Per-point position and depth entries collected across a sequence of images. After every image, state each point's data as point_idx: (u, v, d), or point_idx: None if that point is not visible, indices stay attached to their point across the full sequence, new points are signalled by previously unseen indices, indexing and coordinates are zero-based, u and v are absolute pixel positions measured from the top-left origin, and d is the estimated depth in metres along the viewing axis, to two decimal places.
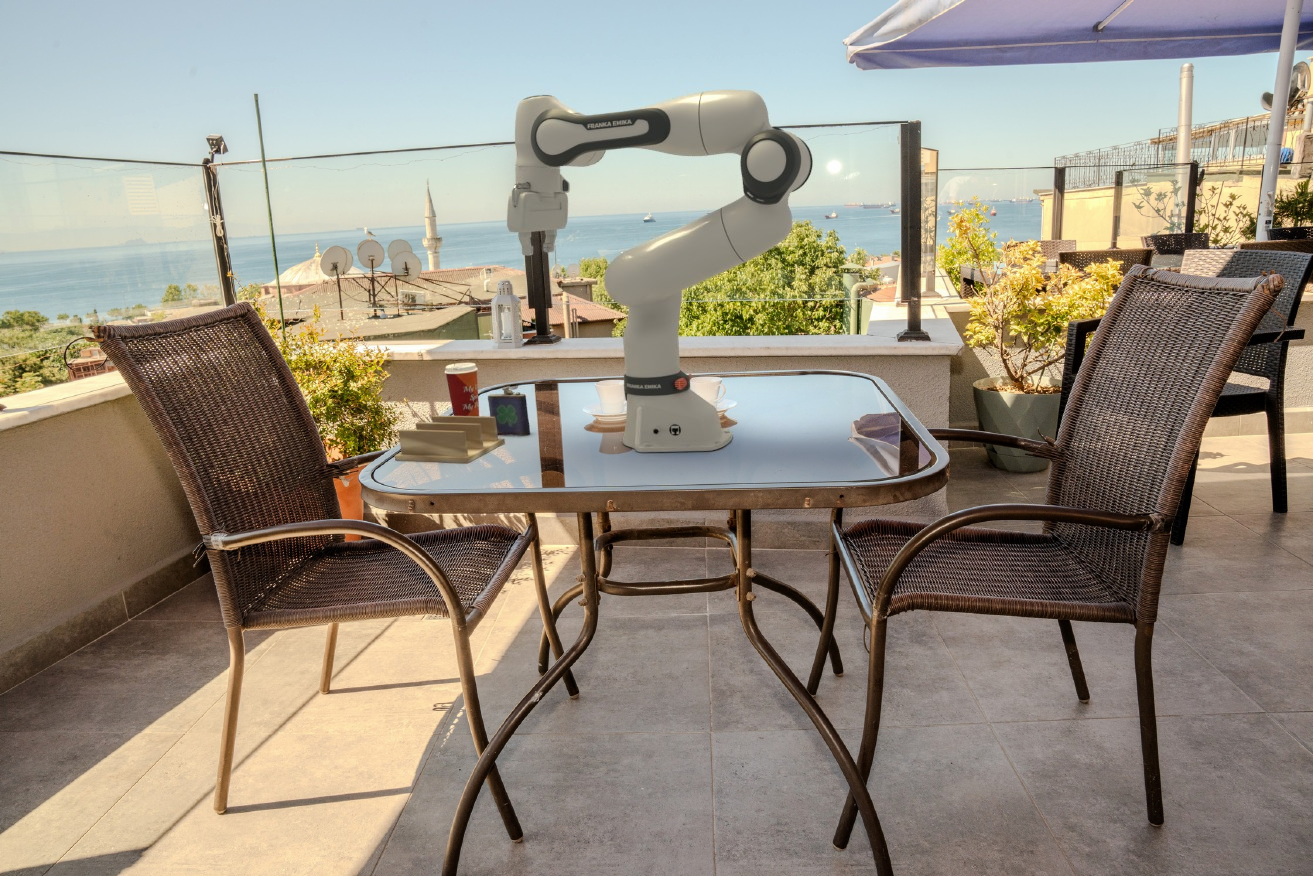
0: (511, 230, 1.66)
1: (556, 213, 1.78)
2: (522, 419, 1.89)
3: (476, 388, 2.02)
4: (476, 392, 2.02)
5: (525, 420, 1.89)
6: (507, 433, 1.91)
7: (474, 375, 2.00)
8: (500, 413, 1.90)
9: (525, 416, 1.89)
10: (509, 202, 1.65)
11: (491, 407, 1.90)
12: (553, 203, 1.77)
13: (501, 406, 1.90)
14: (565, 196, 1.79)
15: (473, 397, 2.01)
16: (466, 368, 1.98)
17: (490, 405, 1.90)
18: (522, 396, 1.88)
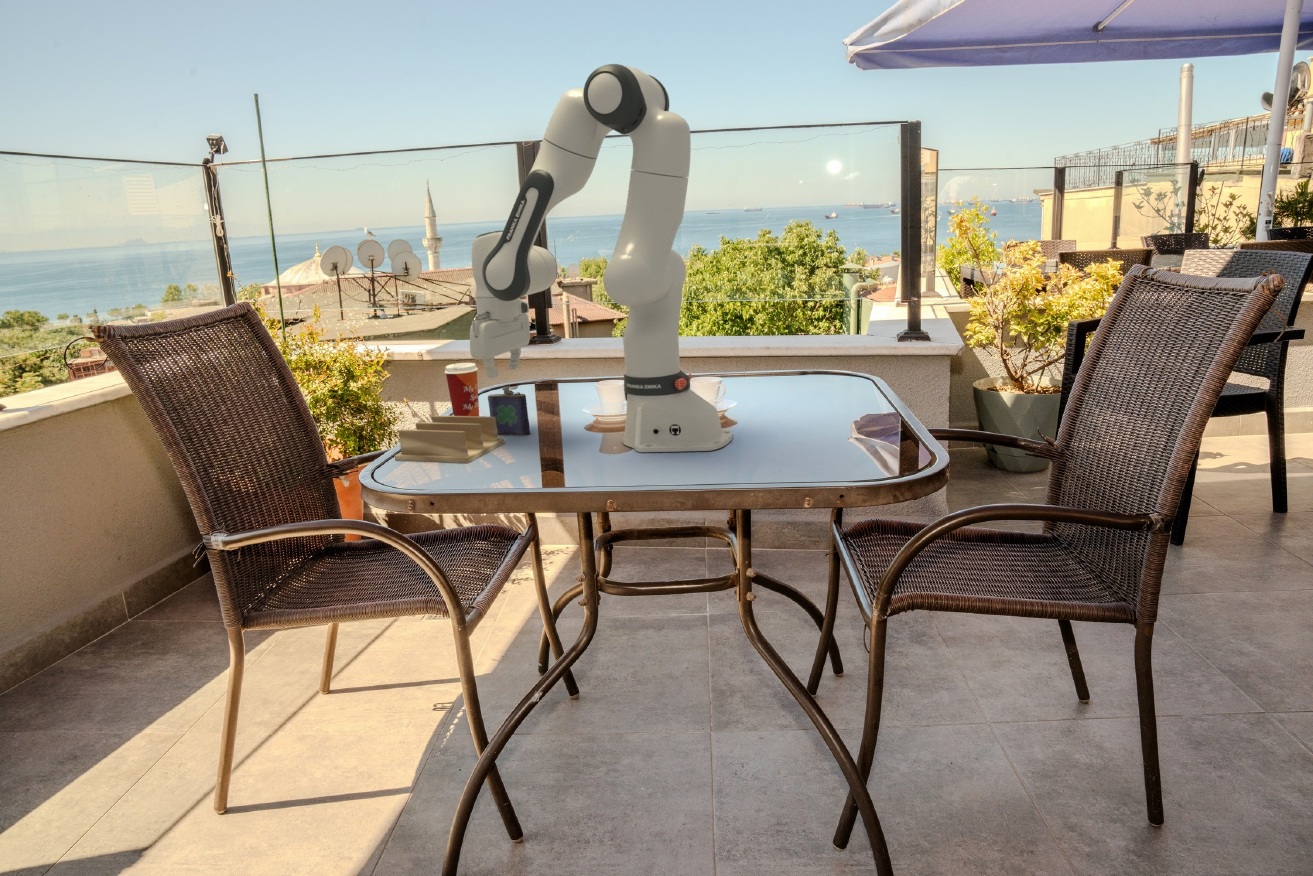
0: (475, 358, 1.79)
1: (518, 333, 1.90)
2: (522, 419, 1.89)
3: (476, 388, 2.02)
4: (476, 392, 2.02)
5: (525, 420, 1.89)
6: (507, 433, 1.91)
7: (474, 375, 2.00)
8: (500, 413, 1.90)
9: (525, 416, 1.89)
10: (471, 333, 1.78)
11: (491, 407, 1.90)
12: (514, 324, 1.89)
13: (501, 406, 1.90)
14: (525, 316, 1.91)
15: (473, 397, 2.01)
16: (466, 368, 1.98)
17: (490, 405, 1.90)
18: (522, 396, 1.88)
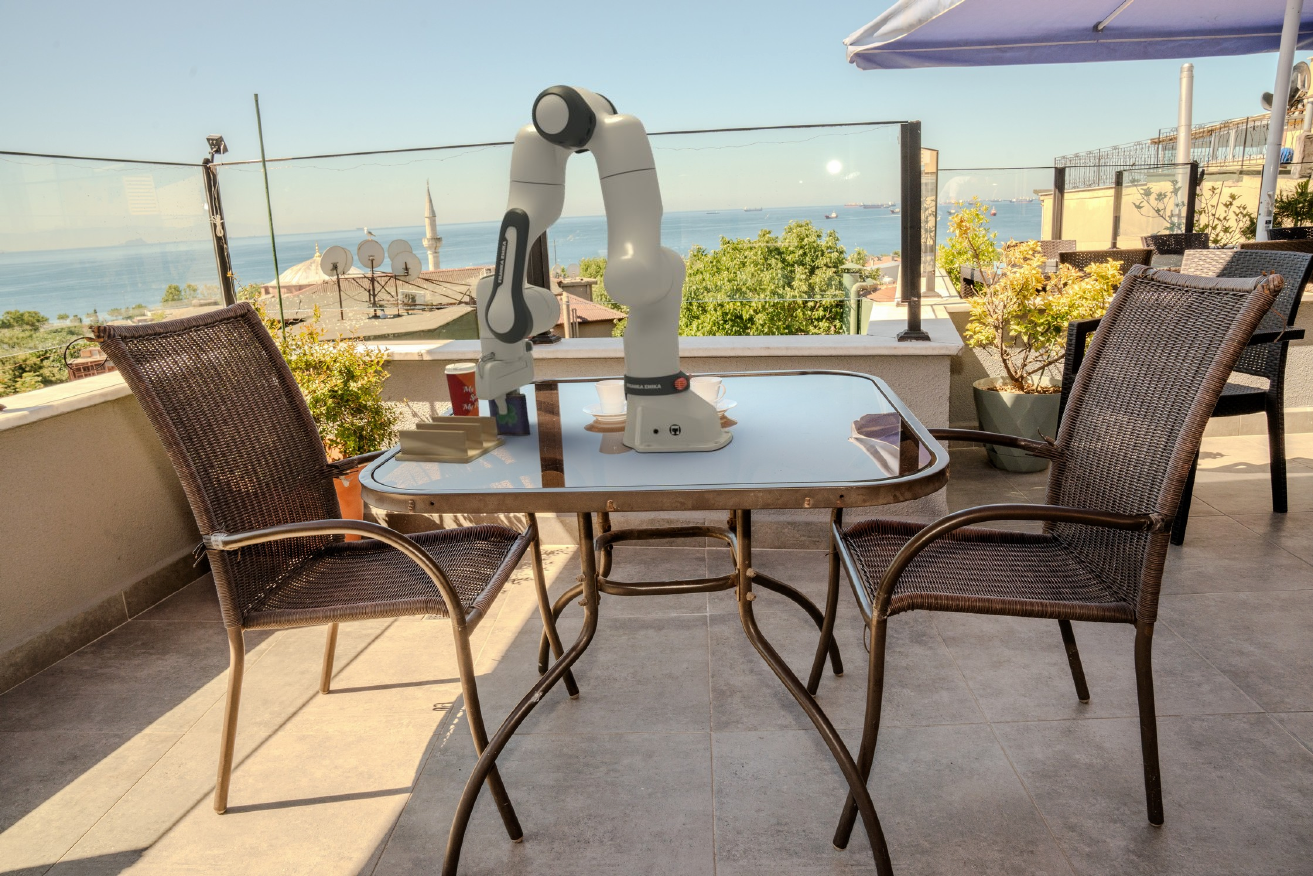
0: (480, 398, 1.81)
1: (522, 371, 1.92)
2: (522, 419, 1.89)
3: None
4: None
5: (525, 420, 1.89)
6: (507, 433, 1.91)
7: (474, 375, 2.00)
8: None
9: (525, 416, 1.89)
10: (476, 374, 1.80)
11: (491, 407, 1.90)
12: (519, 363, 1.91)
13: None
14: (530, 354, 1.94)
15: (473, 397, 2.01)
16: (466, 368, 1.98)
17: (490, 405, 1.90)
18: (522, 396, 1.88)
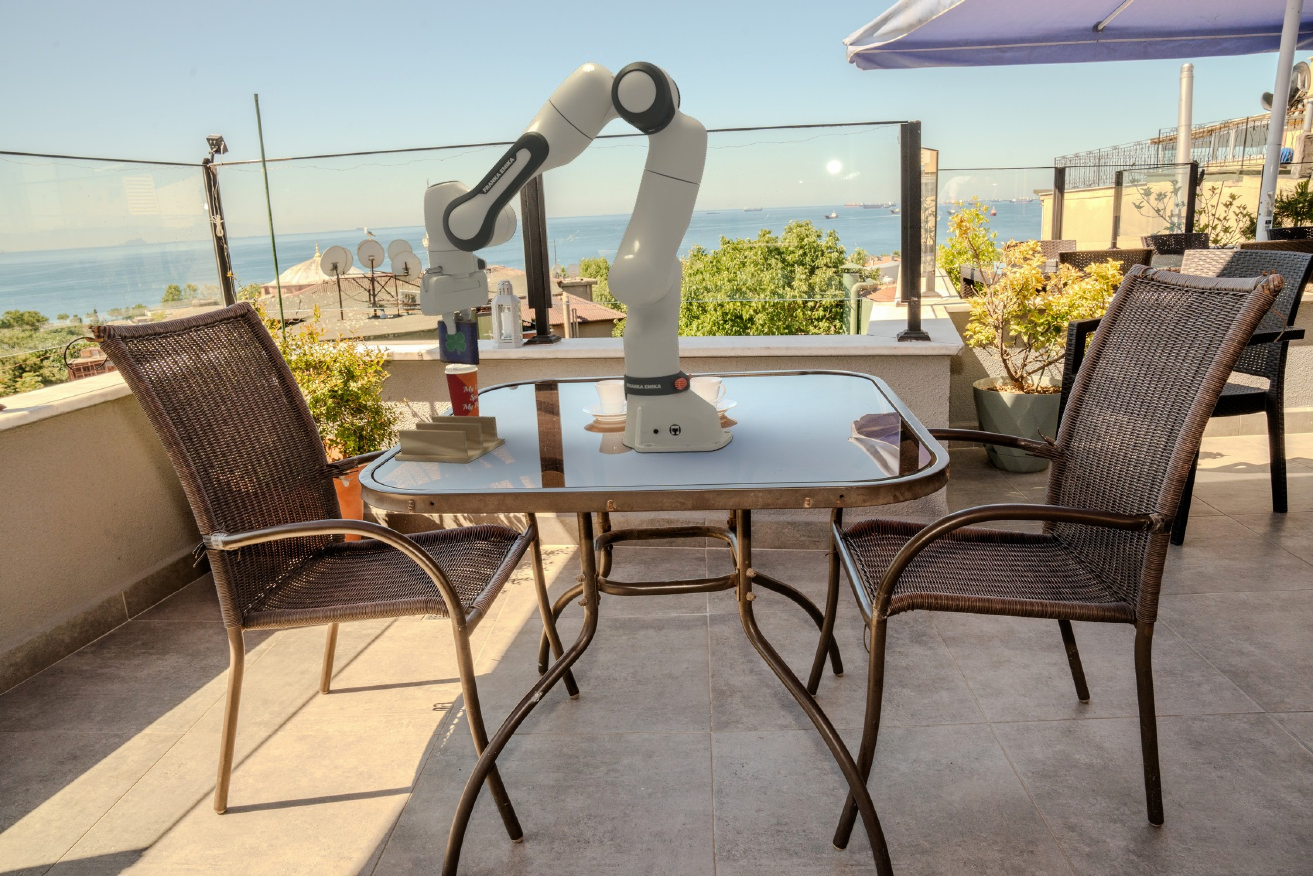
0: (425, 314, 1.70)
1: (474, 291, 1.81)
2: (471, 347, 1.78)
3: (476, 388, 2.02)
4: (476, 392, 2.02)
5: (474, 349, 1.78)
6: (455, 362, 1.81)
7: (474, 375, 2.00)
8: (449, 339, 1.80)
9: (474, 344, 1.78)
10: (421, 287, 1.69)
11: (440, 333, 1.80)
12: (470, 282, 1.80)
13: None
14: (483, 274, 1.82)
15: (473, 397, 2.01)
16: (466, 368, 1.98)
17: (439, 330, 1.80)
18: (472, 323, 1.77)
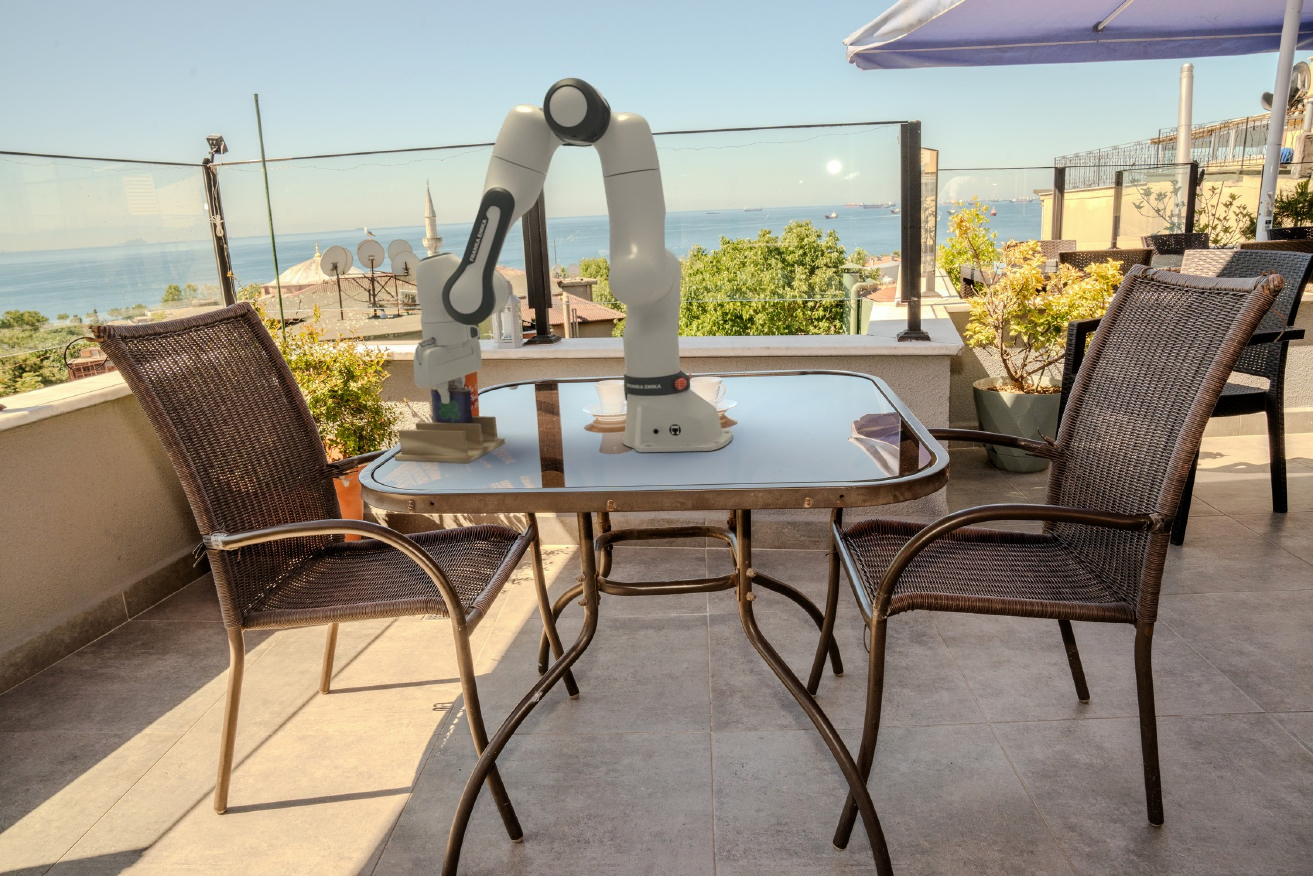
0: (419, 386, 1.71)
1: (468, 359, 1.82)
2: (465, 416, 1.79)
3: (476, 388, 2.02)
4: (476, 392, 2.02)
5: (468, 417, 1.79)
6: None
7: (474, 375, 2.00)
8: (442, 408, 1.80)
9: (468, 413, 1.79)
10: (414, 360, 1.70)
11: (434, 401, 1.80)
12: (463, 350, 1.81)
13: None
14: (476, 341, 1.83)
15: (473, 397, 2.01)
16: None
17: (433, 399, 1.80)
18: (466, 391, 1.78)
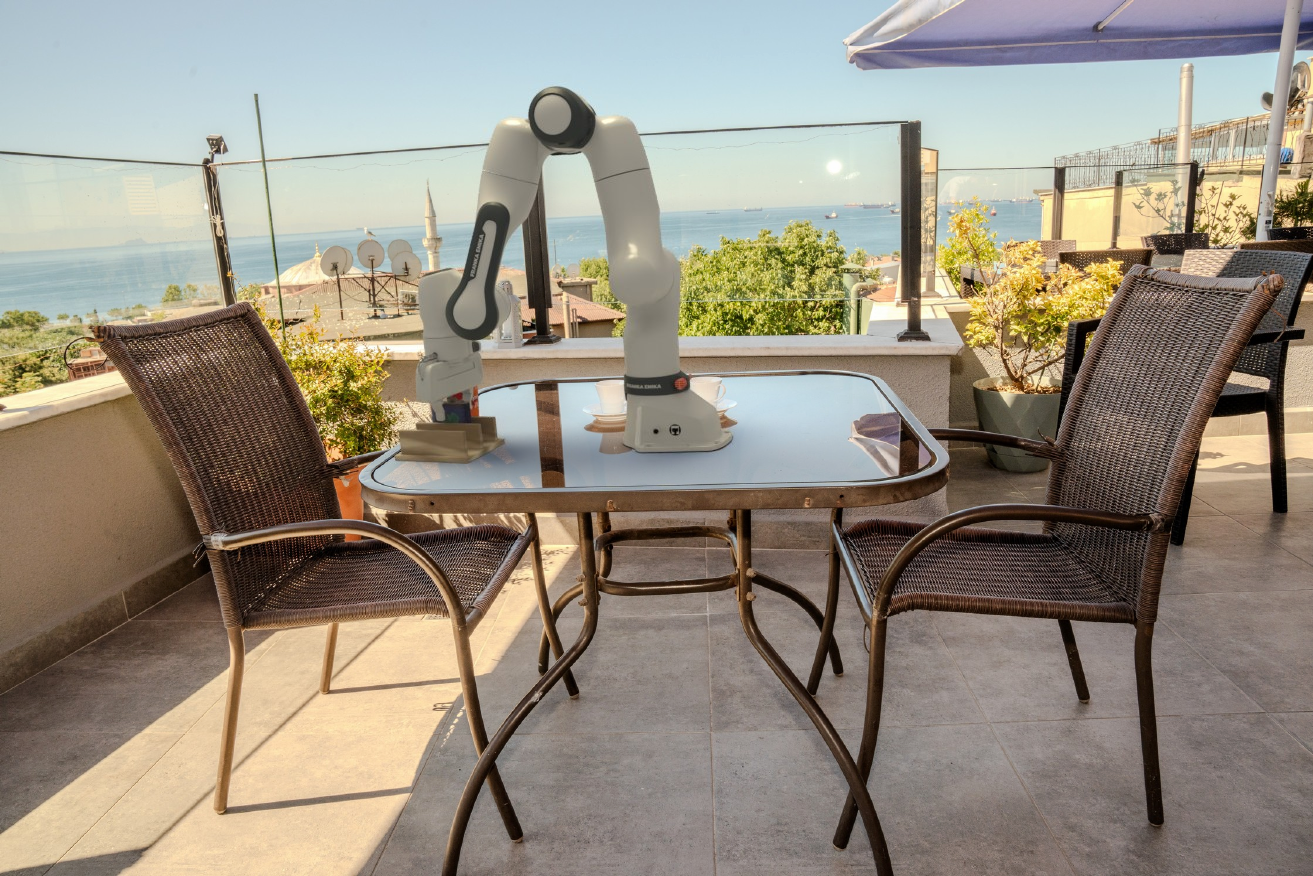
0: (421, 401, 1.72)
1: (469, 373, 1.83)
2: None
3: (476, 388, 2.02)
4: (476, 392, 2.02)
5: None
6: None
7: None
8: (443, 421, 1.81)
9: None
10: (416, 376, 1.70)
11: (434, 415, 1.81)
12: (465, 364, 1.82)
13: None
14: (477, 355, 1.84)
15: (473, 397, 2.01)
16: None
17: (433, 413, 1.81)
18: (465, 404, 1.78)
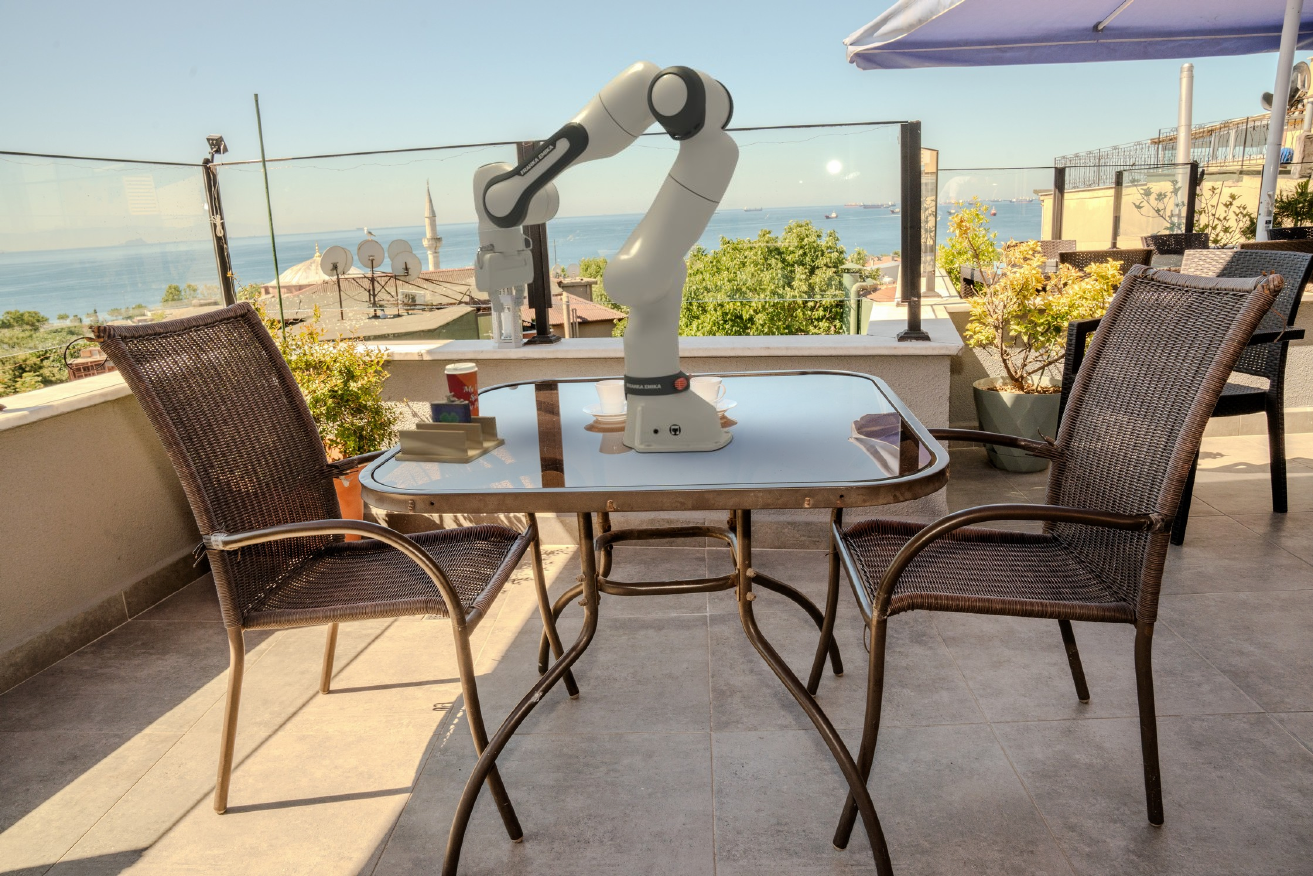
0: (480, 290, 1.77)
1: (522, 269, 1.88)
2: None
3: (476, 388, 2.02)
4: (476, 392, 2.02)
5: None
6: None
7: (474, 375, 2.00)
8: (443, 421, 1.81)
9: None
10: (475, 265, 1.76)
11: (434, 415, 1.81)
12: (518, 260, 1.87)
13: (444, 413, 1.81)
14: (529, 252, 1.90)
15: (473, 397, 2.01)
16: (466, 368, 1.98)
17: (433, 413, 1.81)
18: (465, 404, 1.78)
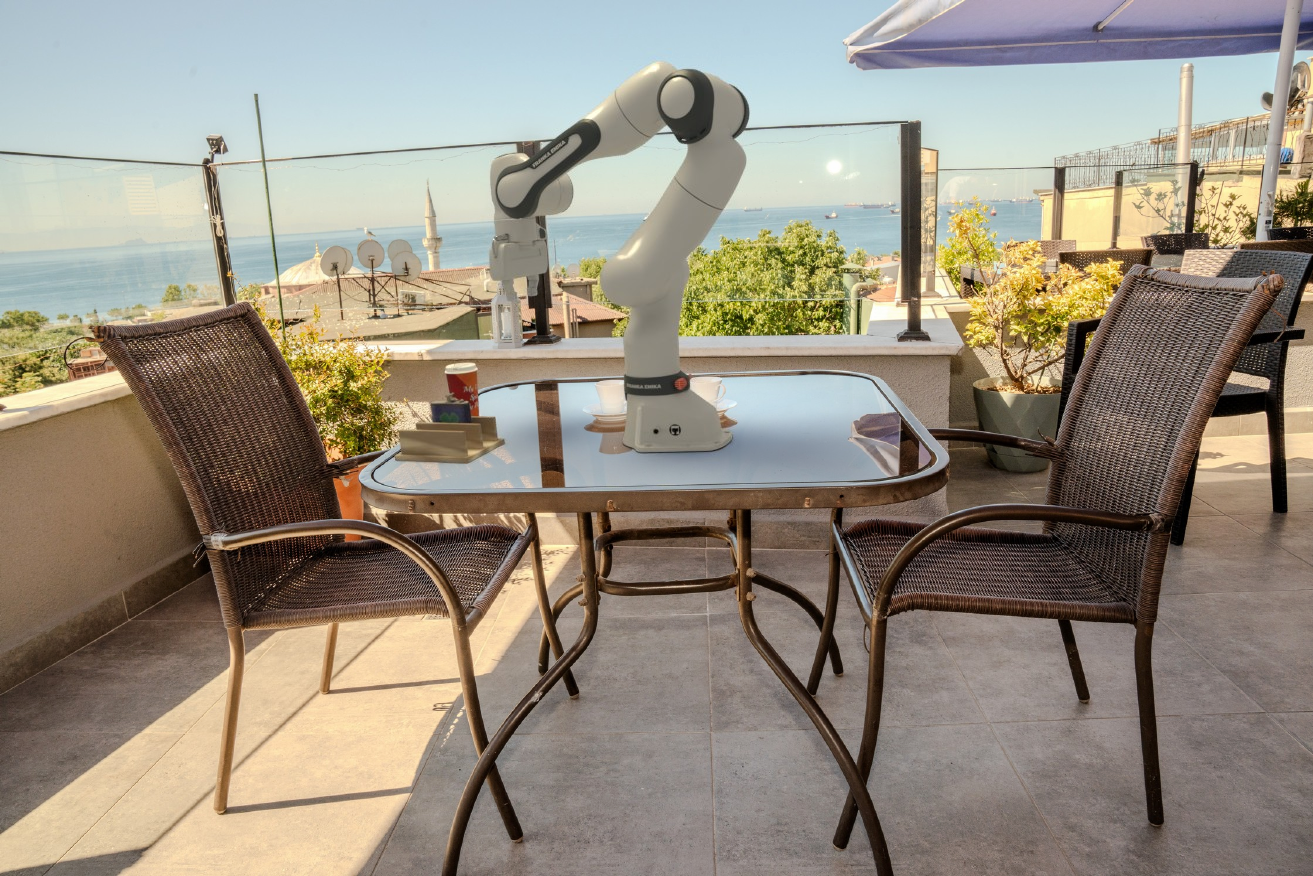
0: (494, 279, 1.79)
1: (536, 259, 1.91)
2: None
3: (476, 388, 2.02)
4: (476, 392, 2.02)
5: None
6: None
7: (474, 375, 2.00)
8: (443, 421, 1.81)
9: None
10: (490, 254, 1.78)
11: (434, 415, 1.81)
12: (532, 250, 1.90)
13: (444, 413, 1.81)
14: (543, 243, 1.92)
15: (473, 397, 2.01)
16: (466, 368, 1.98)
17: (433, 413, 1.81)
18: (465, 404, 1.78)
